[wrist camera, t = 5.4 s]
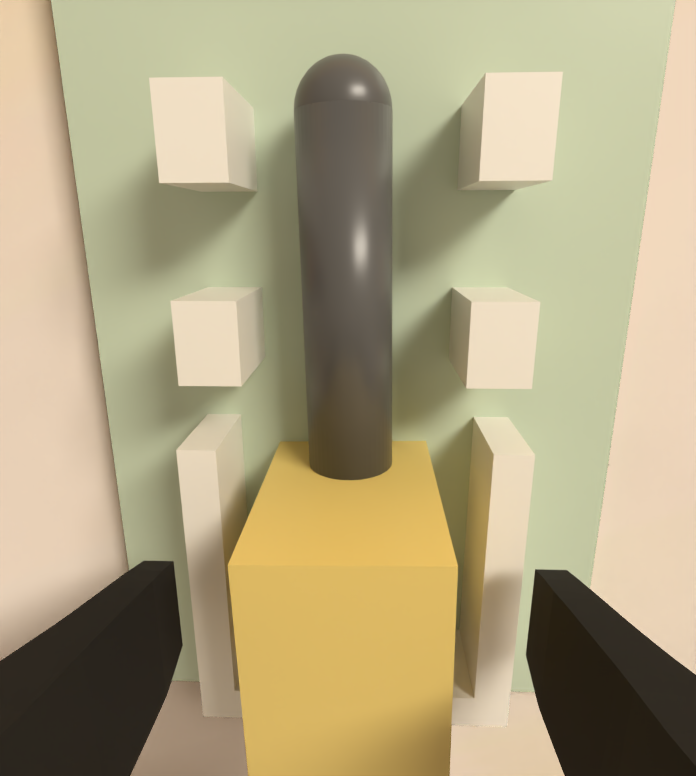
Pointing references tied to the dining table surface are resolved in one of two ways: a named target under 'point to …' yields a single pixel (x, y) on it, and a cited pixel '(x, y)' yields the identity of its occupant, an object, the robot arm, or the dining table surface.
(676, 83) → the dining table surface
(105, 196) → the board
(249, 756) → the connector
